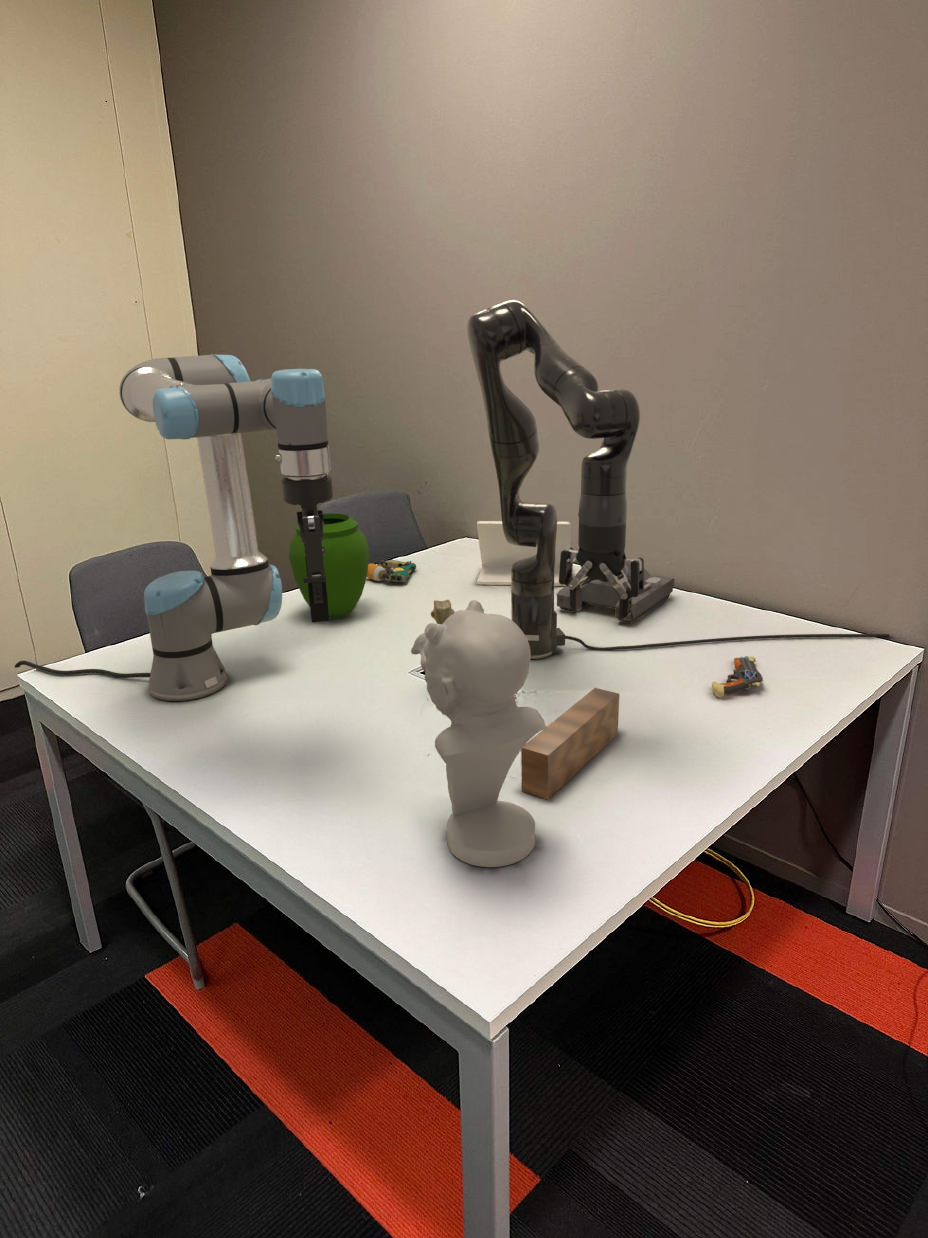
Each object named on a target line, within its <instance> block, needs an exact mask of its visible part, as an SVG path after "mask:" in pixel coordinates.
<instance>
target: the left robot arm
mask: <svg viewBox="0 0 928 1238" xmlns="http://www.w3.org/2000/svg"><path fill="white" fill-rule="evenodd" d="M119 398H120V401H121V403H122V406H123V407H124V409H125V410H126V411H127V412H128V413H129V414H130V415H132V416H133V417H135V418H136V419H138V420H139V421H143V422H146V423H147V422H148V423H155V425H156V429H157V431H158V433H159V435H160V436H161V437H162V438H163V439H166V440H190V439H193V438H196V442H197V447H198V454H199V460H200V466H201V472H202V473H201V474H202V478H203V484H204V490H205V497H206V503H207V509H208V515H209V521H210V527H211V533H212V538H213V545H214V551H215V558H214V559H213V561H212V562H211V563H210V566H209V568H210V573H211V574H210V575H208V576H207V575H206V576H204V575H203V573H202V572H201V571H200V570H199V571H198V570H193V569H189V570H179V571H173V572H171V573H167V574H164V575H162V576H160V577H157V578H156V579H154V580H152V581H151V582H150V583H148V585H147V586H146V587H145V589H144V590H143V591H144V592H143V601H144V613H145V614H146V618H147V624H148V631H149V636H150V643H151V648H152V654H153V655H152V661H151V668H150V672H129V673H122V672H121V673H120V672H114V671H110V670H106V669H101V668H84V669H72V670H71V669H70V670H61V669H60V670H59V669H54V668H51V667H47V666H44V665H40V664H36V663H34V662H32V661H31V662H30V661H29V660H19V661H18V662H16V663H15V665H14V669H16V668H20V667H21V666H27V667H30V668H32V669H35V670H39V671H43V672H46V673H49V674H54V675H58V676H72V675H73V676H74V675H84V674H100V675H101V674H102V675H106V676H109V677H113V678H120V679H131V678H132V679H133V678H134V679H135V678H149V679H148V688H149V694H150V695H151V696H152V697H153V698H156V699H157V700H161V701H166V702H186V701H193V700H197V699H202V698H204V697H208V696H211V695H212V694H214V693H217V692H218V691H219V690H221V689H223V688H224V687H225V685H227V682H228V679H227V672H226V668H225V667H224V665H223V663H222V661H221V659H220V657H219V654H218V653H217V651H216V649H215V647H214V644H213V636H212V635H213V634H217V633H222V632H226V631H231V630H236V629H240V628H245V627H250V626H259V625H260V624H262V623H263V624H264V623H267V622H271V621H273V620H275V619H276V618H277V617H278V615H279V614H280V611H281V609H282V605H283V584H282V579H281V577H280V572H279V570H278V568H277V566H276V565H274V564H270V563H269V558H268V557H267V556H266V555H265V554H264V553H262V552H261V551H260V549H259V541H258V535H257V528H256V523H255V516H254V515H255V514H254V508H253V503H252V495H251V489H250V488H251V487H250V482H249V477H248V469H247V463H246V456H245V451H244V449H245V448H244V443H243V436H242V433H252V432H260V431H261V432H263V431H271V430H275V432H276V439H277V448H278V453H279V454H276V455H275V456H274V460H275V462H280V463H279V466H280V467H279V468H280V474H281V475H282V476H283V477H282V479H281V490H282V498H283V502H285V503H286V504H288V505H292V506H297V505H299V506H300V507H301V508H300V510H301V511H296V518H297V525H298V527H299V528H300V533H301V541H302V542H303V543H304V547H305V550H304V551H305V553H306V556H305V561H306V571H307V578H303V582H304V584H305V583H308V591H309V601H310V606H309V613H310V621H311V624H314V623H315V624H316V623H325V622H330V619H329V611H328V600H327V589H326V575H325V572H324V562H323V553H325V548H324V547H322V541H323V540H324V534H323V525H324V519H323V514H324V513H323V509H318V505H319V504H325V503H327V502H329V501H331V500H332V499H333V497H334V491H333V481H332V476H330V472H331V471H332V464H331V452H330V451H331V450H330V444H329V434H328V433H329V431H328V421H327V407H326V406H327V405H326V399H327V395H326V391H325V385H324V381H323V375H322V373H321V372H320V371H319V370H318V369H315V368H288V369H287V368H286V369H279V370H275V371H273V373H272V375H271V376H270V377H267V378H265V377H264V378H260V379H257V380H253V381H252V380H251V379H250V376H249V373H248V371H247V369H246V367H245V366H244V364H243V363H242V361H241V360H240V359H239V358H238V357H237V356H235V355H232V354H215V353H211V354H205V355H203V354H202V355H188V356H174V357H173V356H172V357H158V358H157V357H156V358H152V359H148V360H145V361H143V362H140V363H138V364H136V365H134V366H133V367H132V368H130V369H128V370H127V372H126V373H125V374H124V376H123V377H122V379H121V381H120V384H119Z"/></svg>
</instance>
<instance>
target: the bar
mask: <svg viewBox="0 0 928 1238" xmlns="http://www.w3.org/2000/svg"><path fill="white" fill-rule="evenodd" d="M619 714H620V693H618V692H614V691H610V690H606V689H603V688H599V687H594V688H593V689H591V690H590V691H589V692H588V693H587V694H585V695H584V696H583V697H582V698H580V699H579V700H578V701H577V702H575V703H574V704H573V705H572V706H570V707H569V708H568V709H567V710H566V711H564V712H563V713H562V714H560V716H558V717H557V718H556V719H555V720H553V721H552V722H550V724H548V725H546V728H545V729H543V730H541V731H539V732H538V733H537V734H535V735H534V736H533V737H532V738H531V739H530V740H529V741H528V742H527V743H526V744H525V745H524V746H523V747H522V749H521V750H520V752H521V755H520V758H521V759H520V761H521V762H520V763H521V768H520V769H521V771H520V772H521V792H523V793H525V794H529V795H532V796H535V797H538V798H541V799H544V800H547V801H548V800H549V799H551V797H553V796H554V795H555V794H556V793H557V792H558V791H559V790H560V789H561V788H563V786H564V785H565V784H566V783H568V782H569V781H570V780H571V778H573V777H574V776H575V775H576V774H577V773H578V772H579V771H580V770H581V769H582V768H583V767H585V766H586V765H587V763H588V762H589V761H591V760H592V759H593V758H594V757H595V756H596V755H598V753H599V752H600V751H601V750H603V749H604V748H605V746H606V745H608V744H609V743H610V742H611V741H612V740H613V739H614V738H615V737H616V736H617V735H618V734H619V717H620V716H619Z"/></svg>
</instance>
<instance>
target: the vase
mask: <svg viewBox="0 0 928 1238" xmlns="http://www.w3.org/2000/svg"><path fill="white" fill-rule="evenodd" d="M323 519H324V525H323V534H324V540H323V541H322V547H324V548H325V553H323V562H324V572H325V575H326V589H327V600H328V611H329V620H336V619H341V618H345V617H347V616H349V615H350V614H351V613H352V612H353V611H354V610H355V608H356V607H357V605H358V604H359V601H360V599H361V597H362V595H363V592H364V588H365V586H366V581H367V578H368V577H367V573H368V564H369V561H370V560H369V559H370V548H369V545H368V541H367V537H366V535H365V534H364V533H363V532H362V531H361V530H360V529H359V527H358V524H359V523H358V521H356V520H355V519H353V518H352V517H350V516H349V515H347V514H344V513H335V512H334V513H333V512H331V513H323ZM295 532H296V533H295V534H294V536H293V537H292V538H291V540H290V542H289V551H288V559H289V564H290V566H291V567H290V568H291V570H292V575H293V578H294V581H295V584H296V586H297V587H298V589H299V591H300V593H301V596H302V597H303V600H304V601H305V603H306V604H307V605H308V607H310V601H309V591H308V583H305V584H304V582H303V578H307V571H306V561H305V556H306V553H305V551H304V550H305V547H304V543H303V542H302V541H301V533H300V528H299V527H298V524H297V525H296V526H295Z"/></svg>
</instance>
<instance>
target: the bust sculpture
mask: <svg viewBox="0 0 928 1238" xmlns="http://www.w3.org/2000/svg"><path fill="white" fill-rule="evenodd" d="M454 612H455V613H453V614H452V615H451V616H450V617H448V618H447V619H446V620H445V622H444V623H443V624H436V623H435V622H430V623H428V624H427V625H426V626H425V628H424V632H423V633H421V634H419V635H418V636H417V637H416V638H415V640H414V642H413V645H412V647H411V649H410V654H412V655H420V667H421V669H422V670H423V672H424V681H425V682H426V690H427V693H428V696H429V698H430V701H431V702H432V704H434V706H435V708H436V710H438V711H439V712H440V713H441V714H442V716H446V717H447V718H448V719H449V720H450V726H448V727H446V728H445V729H443V730H442V731H441V732H440V733H439V734H438V735H436V738H435V741H434V748H435V749H436V752H437V753H438V755H439V757H440V758H441V760H442V761H443V762H444V763H445V771H446V781H447V790H448V796H449V800H450V803H451V810H452V813H451V814H450V815H449V817H448V819H447V822H446V844H447V847H448V849H449V851H450V852H451V854H452V855H453V856H454V857H456V858H457V859H459V860H460V861H462V862H463V863H466V864H469V865H471V866H476V867H483V868H498V867H505V866H509V865H512V864H517V862H520V861H521V860H523V859H525V858H527V856H528V855H530V854H531V852H532V851H533V849H535V848H534V847H535V845H536V822H535V821H536V820H535V819H534V817H533V816H532V814H531V813H530V812H529V811H528V810H526V809H525V808H524V807H522V806H520V805H517V804H515V803H513V802H509V801H504V800H499V796H500V793H501V790H502V788H503V785H504V783H505V780H506V778H507V776H508V773H509V771H510V769H511V768H512V765H513V763H514V761H515V760H516V759H517V756H518V755H519V753H520V752H521V749H522V747H523V746H524V745H525V744H526V743H527V742H529V741H530V740H531V739H532V738H534V737H535V736H536V735H537V734H539V733H540V732H541V731H542V730H543V729H545V728H546V727H547V725H546V723H545V720H544V718H543V717H542V714H541V713H540V712H539V711H538V710H537V709H535V708H533V707H530V706H518V705H517V701H516V699H517V698H516V696H515V695H516V694H517V693H519V691H521V689H522V688H523V686H524V684H525V683H526V680H527V678H528V675H529V669H530V666H531V659H530V656H531V655H530V653H531V652H530V646H529V643H528V640H527V638H526V636H525V634H524V633H523V632H522V630H521V629H520V628H519V627H518V626H517V625H516V624H515V623H514V622H513V621H512V620H511V618H508V617H507V616H504V615H503V614H502V615H501V614H496V613H485V609H484V607H483V605H482V603H481V602H480V601H478V600H473V599H472V600H470V601H469V603H468V605H467V607H466V609H460V610H457V611H454Z"/></svg>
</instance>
